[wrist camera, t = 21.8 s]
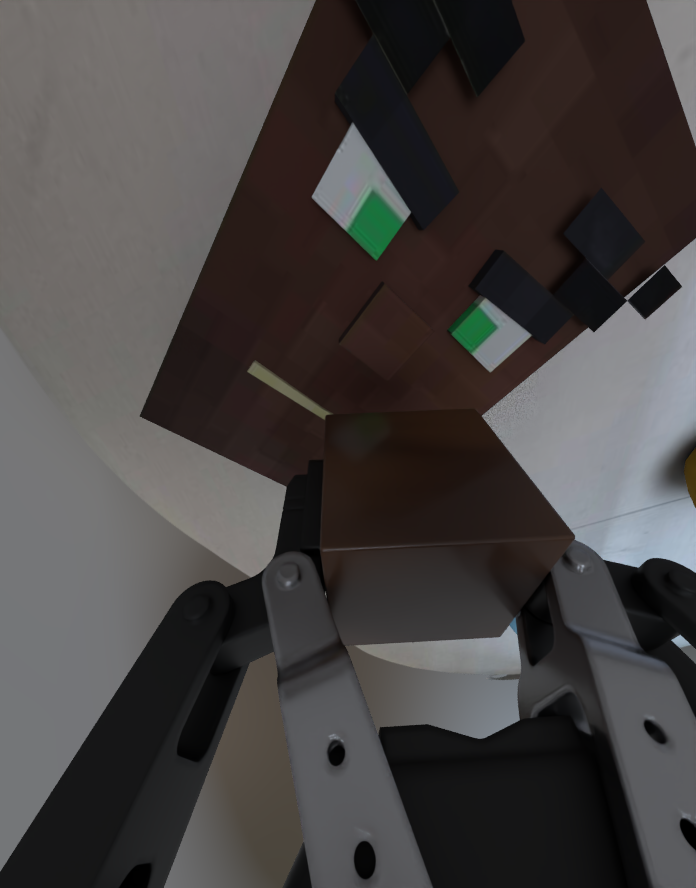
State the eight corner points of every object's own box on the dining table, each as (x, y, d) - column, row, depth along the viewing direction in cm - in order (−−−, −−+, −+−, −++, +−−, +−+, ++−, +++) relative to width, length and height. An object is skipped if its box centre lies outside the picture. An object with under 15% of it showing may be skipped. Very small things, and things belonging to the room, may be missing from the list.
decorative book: (98, 440, 17) (637, -1104, 4) (159, 385, 23) (447, -271, 10) (350, 547, 25) (823, 181, 11) (346, 484, 31) (652, 198, 17)
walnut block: (333, 512, 12) (333, 647, 8) (325, 413, 9) (319, 550, 5) (447, 507, 13) (500, 637, 9) (476, 407, 10) (579, 537, 6)
